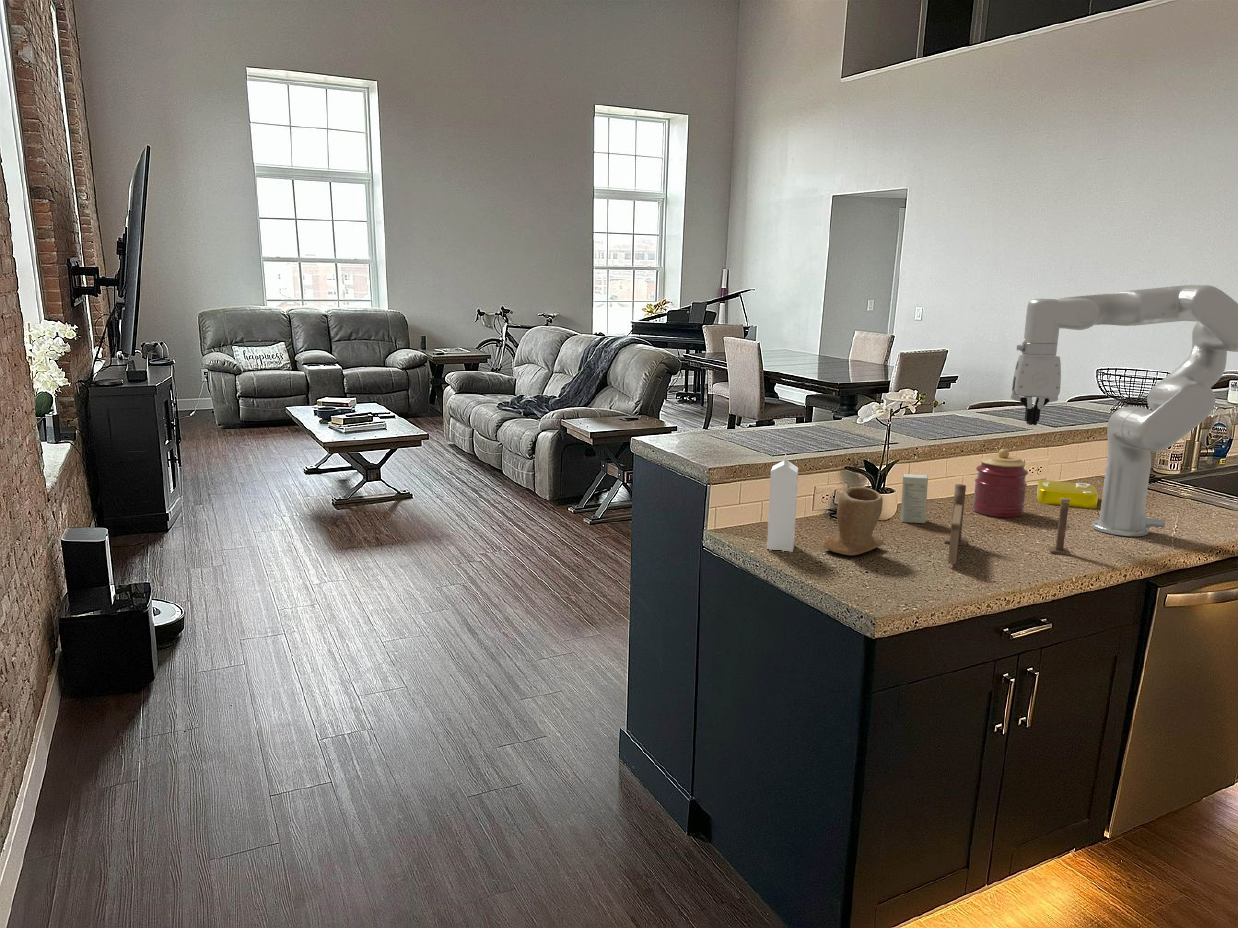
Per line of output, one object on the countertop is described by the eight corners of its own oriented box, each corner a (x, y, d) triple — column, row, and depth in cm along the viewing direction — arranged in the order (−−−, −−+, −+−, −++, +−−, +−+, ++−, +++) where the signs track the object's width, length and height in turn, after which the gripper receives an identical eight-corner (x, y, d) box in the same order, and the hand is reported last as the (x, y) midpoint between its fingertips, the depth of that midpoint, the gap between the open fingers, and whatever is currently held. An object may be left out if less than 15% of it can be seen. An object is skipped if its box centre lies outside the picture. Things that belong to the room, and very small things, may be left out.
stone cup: (858, 563, 188) (863, 498, 185) (815, 550, 197) (819, 488, 194) (897, 550, 198) (902, 488, 194) (854, 539, 206) (858, 479, 203)
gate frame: (944, 543, 203) (949, 486, 201) (943, 537, 208) (949, 482, 205) (1070, 555, 195) (1077, 496, 192) (1066, 549, 199) (1073, 492, 196)
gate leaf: (951, 538, 204) (955, 503, 202) (958, 539, 203) (962, 504, 201) (947, 563, 186) (951, 524, 184) (955, 564, 185) (959, 525, 183)
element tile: (1036, 493, 256) (1038, 477, 255) (1092, 498, 250) (1094, 482, 249) (1037, 504, 243) (1039, 488, 242) (1097, 510, 237) (1099, 493, 236)
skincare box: (925, 519, 224) (929, 474, 221) (925, 524, 220) (929, 478, 217) (899, 517, 226) (903, 472, 223) (899, 521, 222) (903, 476, 219)
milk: (766, 550, 197) (770, 457, 192) (768, 542, 203) (772, 452, 198) (793, 552, 195) (797, 459, 191) (794, 544, 201) (798, 453, 197)
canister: (972, 515, 229) (978, 451, 225) (971, 504, 241) (977, 443, 237) (1025, 520, 224) (1032, 455, 221) (1022, 509, 236) (1029, 446, 232)
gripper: (1011, 350, 205) (1003, 425, 208) (1077, 352, 202) (1068, 427, 206) (1003, 348, 212) (995, 421, 216) (1066, 349, 210) (1058, 423, 213)
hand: (1031, 424), depth 211 cm, fingers closed
